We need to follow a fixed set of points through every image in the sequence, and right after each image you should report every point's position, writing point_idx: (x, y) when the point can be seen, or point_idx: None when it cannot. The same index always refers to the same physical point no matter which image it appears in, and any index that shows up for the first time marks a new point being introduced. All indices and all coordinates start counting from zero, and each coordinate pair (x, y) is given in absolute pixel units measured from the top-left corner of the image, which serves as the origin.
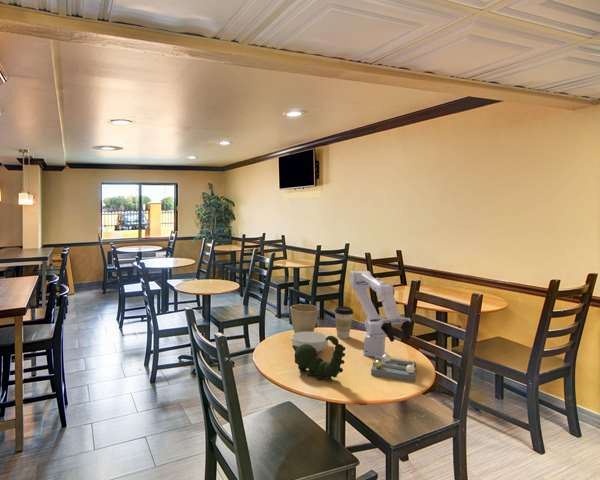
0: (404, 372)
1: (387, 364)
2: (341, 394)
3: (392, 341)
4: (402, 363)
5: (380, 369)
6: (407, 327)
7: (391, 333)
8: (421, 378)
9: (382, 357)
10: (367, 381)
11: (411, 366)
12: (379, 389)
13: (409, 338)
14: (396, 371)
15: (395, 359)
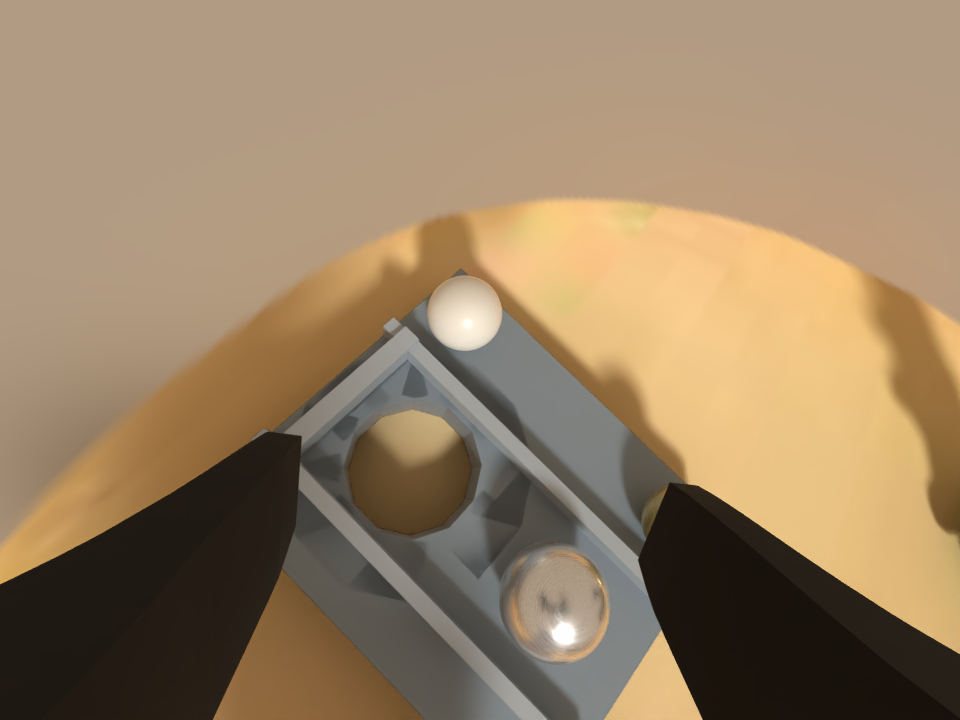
0: (498, 352)
1: (585, 505)
2: (948, 351)
3: (649, 545)
4: (368, 533)
5: (658, 484)
6: (94, 643)
7: (815, 575)
8: (352, 316)
9: (609, 611)
10: (759, 435)
11: (474, 282)
12: (733, 311)
13: (291, 435)
14: (549, 396)
15: (418, 600)
